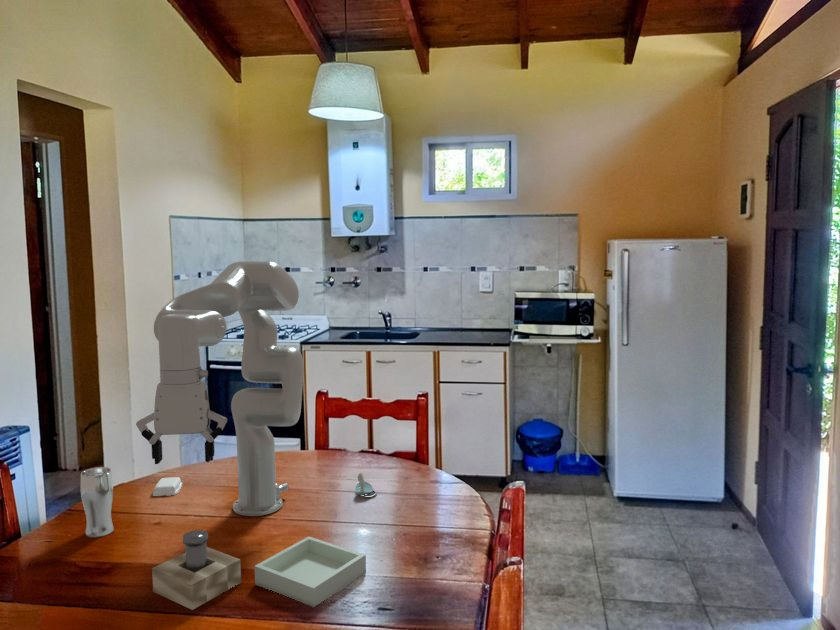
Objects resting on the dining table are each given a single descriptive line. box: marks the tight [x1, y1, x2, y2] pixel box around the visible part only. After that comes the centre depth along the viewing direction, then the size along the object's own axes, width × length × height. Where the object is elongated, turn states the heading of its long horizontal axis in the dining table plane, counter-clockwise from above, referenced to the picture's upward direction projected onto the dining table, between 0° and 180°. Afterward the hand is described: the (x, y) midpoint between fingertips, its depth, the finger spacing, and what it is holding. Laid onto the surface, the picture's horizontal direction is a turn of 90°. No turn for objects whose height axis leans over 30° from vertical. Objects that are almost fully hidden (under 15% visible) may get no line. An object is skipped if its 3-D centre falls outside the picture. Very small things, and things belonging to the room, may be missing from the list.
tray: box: [254, 536, 367, 608], centre depth 138 cm, size 16×16×4 cm
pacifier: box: [354, 472, 374, 496], centre depth 183 cm, size 7×6×6 cm
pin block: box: [151, 546, 242, 611], centre depth 135 cm, size 12×12×5 cm
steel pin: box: [182, 529, 209, 573], centre depth 135 cm, size 5×5×11 cm
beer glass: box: [80, 466, 115, 538], centre depth 160 cm, size 7×7×15 cm
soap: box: [152, 476, 183, 497], centre depth 187 cm, size 9×7×3 cm
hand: (183, 461), depth 134 cm, fingers open, 9 cm apart
